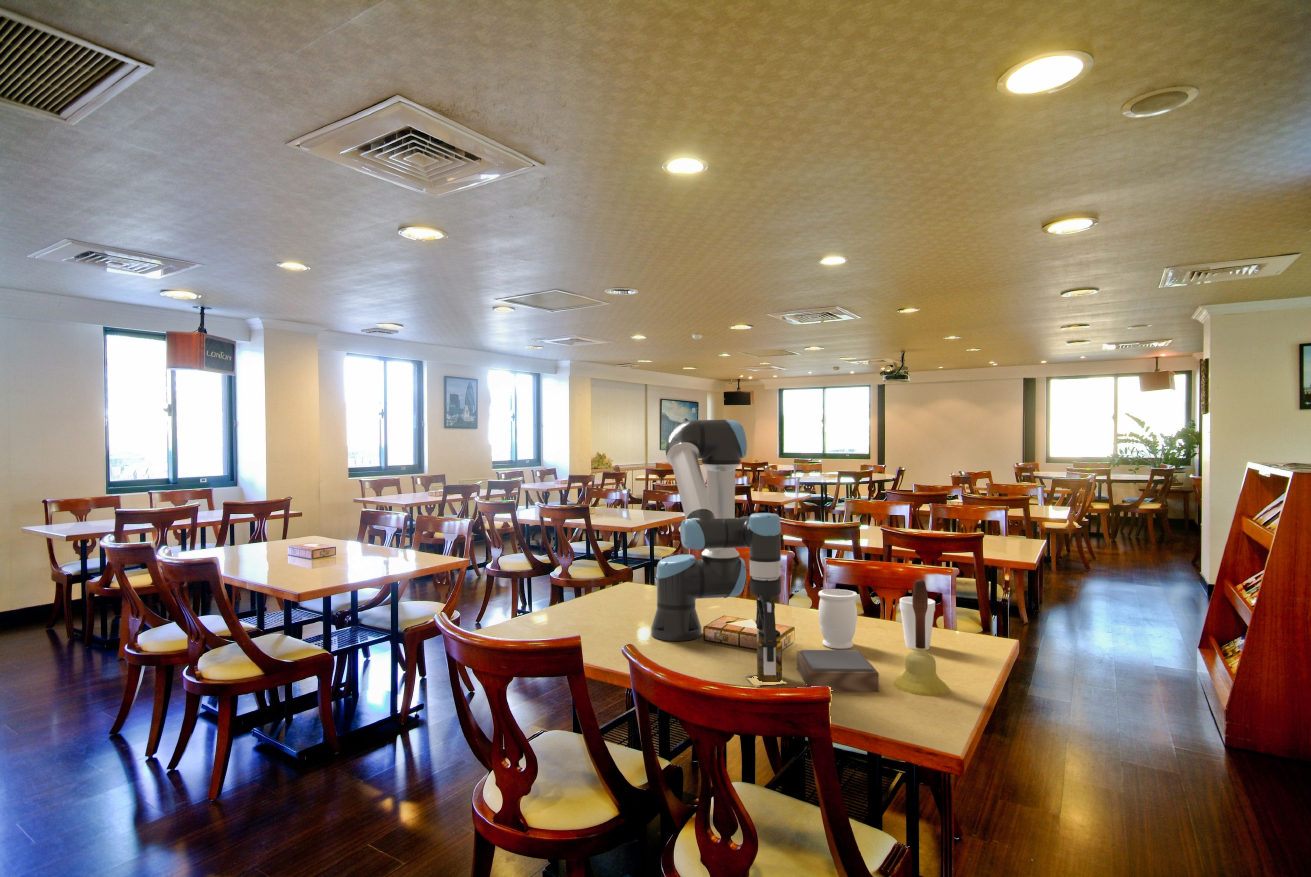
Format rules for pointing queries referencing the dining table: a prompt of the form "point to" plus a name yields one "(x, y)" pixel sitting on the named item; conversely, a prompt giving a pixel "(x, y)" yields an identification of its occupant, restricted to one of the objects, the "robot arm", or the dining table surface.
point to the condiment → (761, 660)
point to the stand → (837, 670)
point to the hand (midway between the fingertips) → (766, 665)
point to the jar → (837, 617)
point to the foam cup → (909, 621)
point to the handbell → (920, 654)
